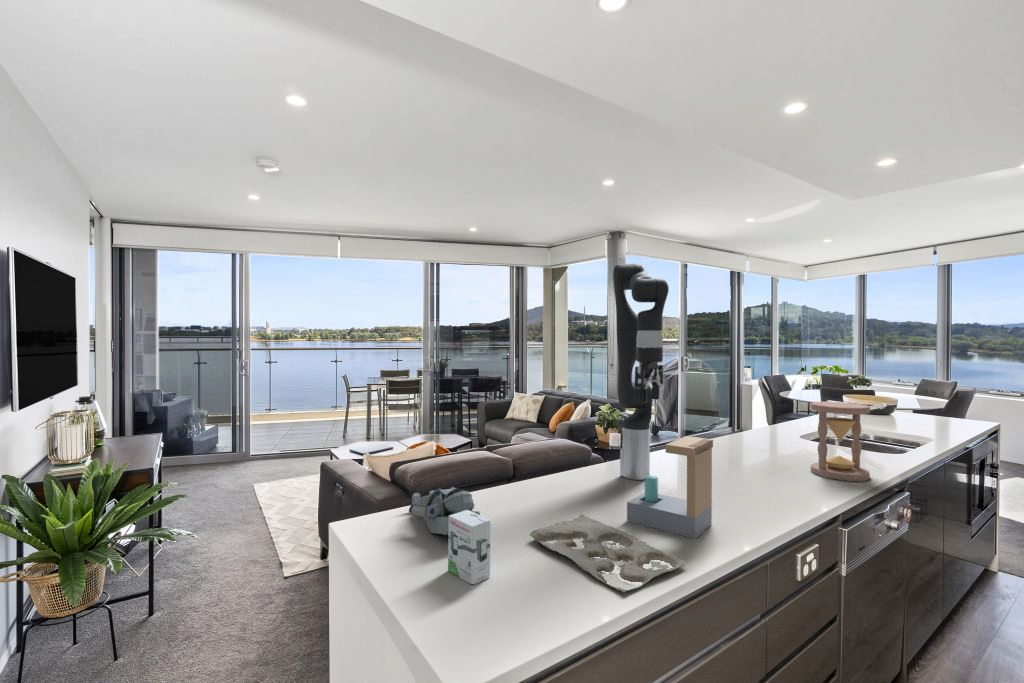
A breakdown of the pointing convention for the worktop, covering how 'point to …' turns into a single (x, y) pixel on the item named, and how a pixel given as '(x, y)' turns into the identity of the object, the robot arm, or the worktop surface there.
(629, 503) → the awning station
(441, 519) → the toy
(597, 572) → the stone relief
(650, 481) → the peg
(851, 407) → the hourglass
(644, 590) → the worktop surface
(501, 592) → the worktop surface
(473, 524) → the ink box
